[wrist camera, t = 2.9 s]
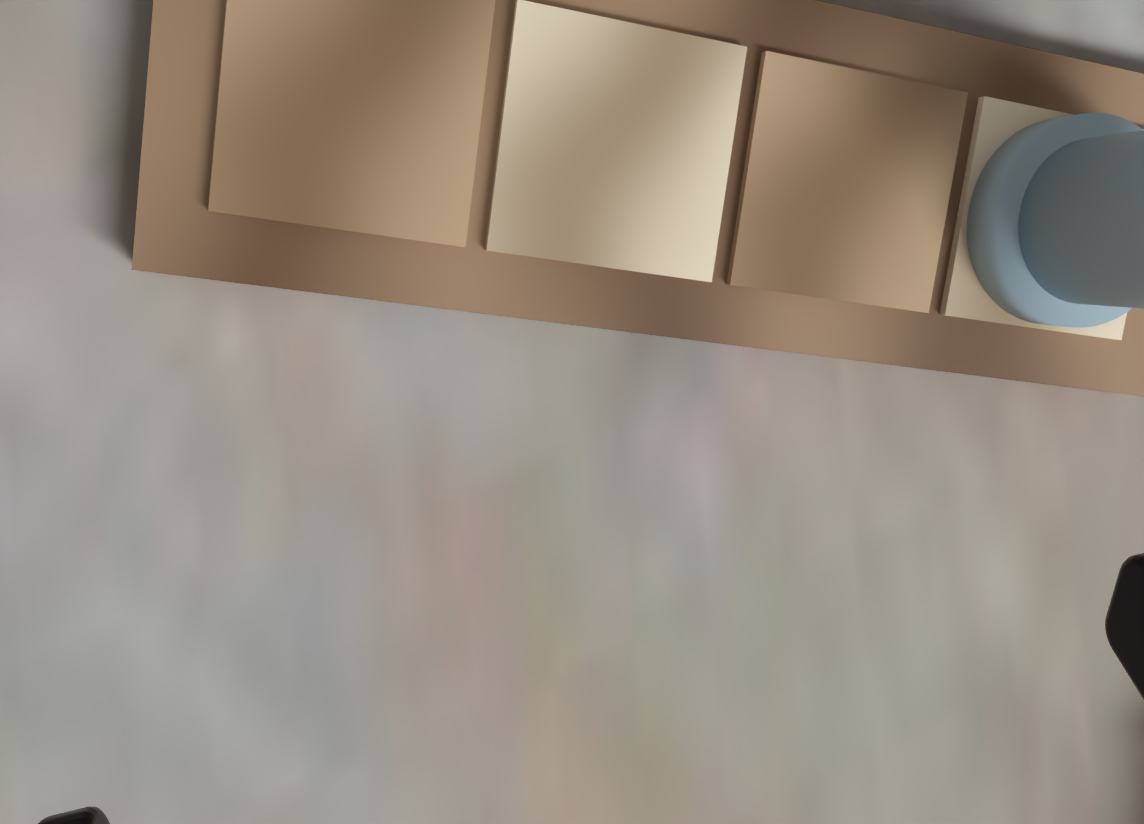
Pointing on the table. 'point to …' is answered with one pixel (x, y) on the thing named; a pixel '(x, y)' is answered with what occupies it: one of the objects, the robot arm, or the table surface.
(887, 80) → the board
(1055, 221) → the pawn
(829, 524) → the table surface
